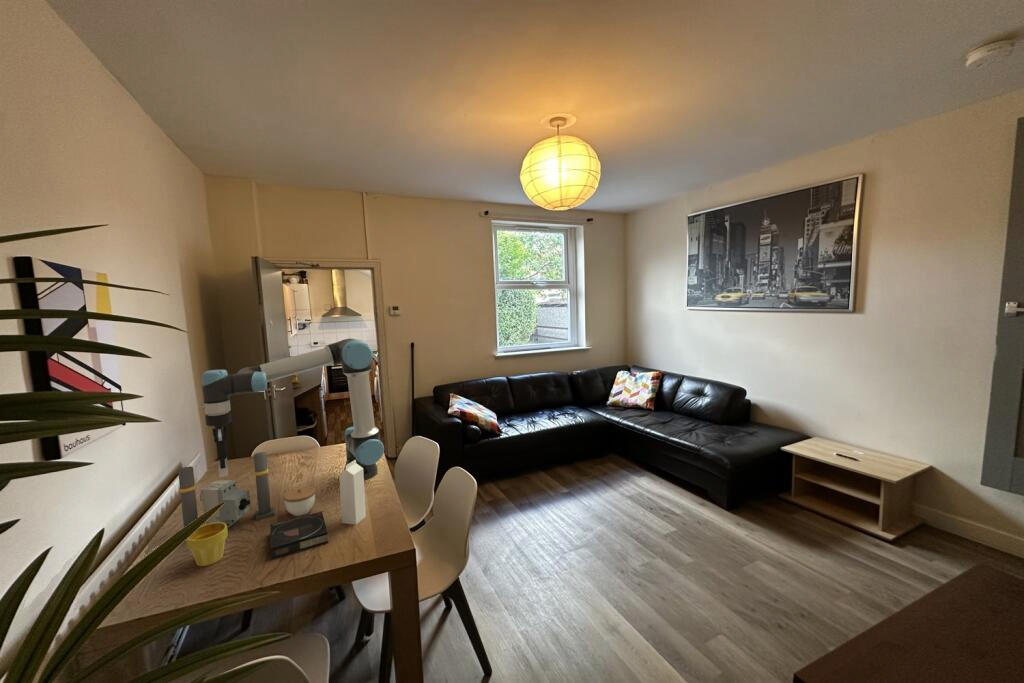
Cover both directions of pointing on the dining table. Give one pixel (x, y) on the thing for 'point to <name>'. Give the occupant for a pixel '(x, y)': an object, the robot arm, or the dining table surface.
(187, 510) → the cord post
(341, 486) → the milk
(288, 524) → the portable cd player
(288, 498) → the lidded jar
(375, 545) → the dining table surface
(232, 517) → the circuit breaker
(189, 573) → the dining table surface
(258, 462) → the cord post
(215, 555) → the plant pot
